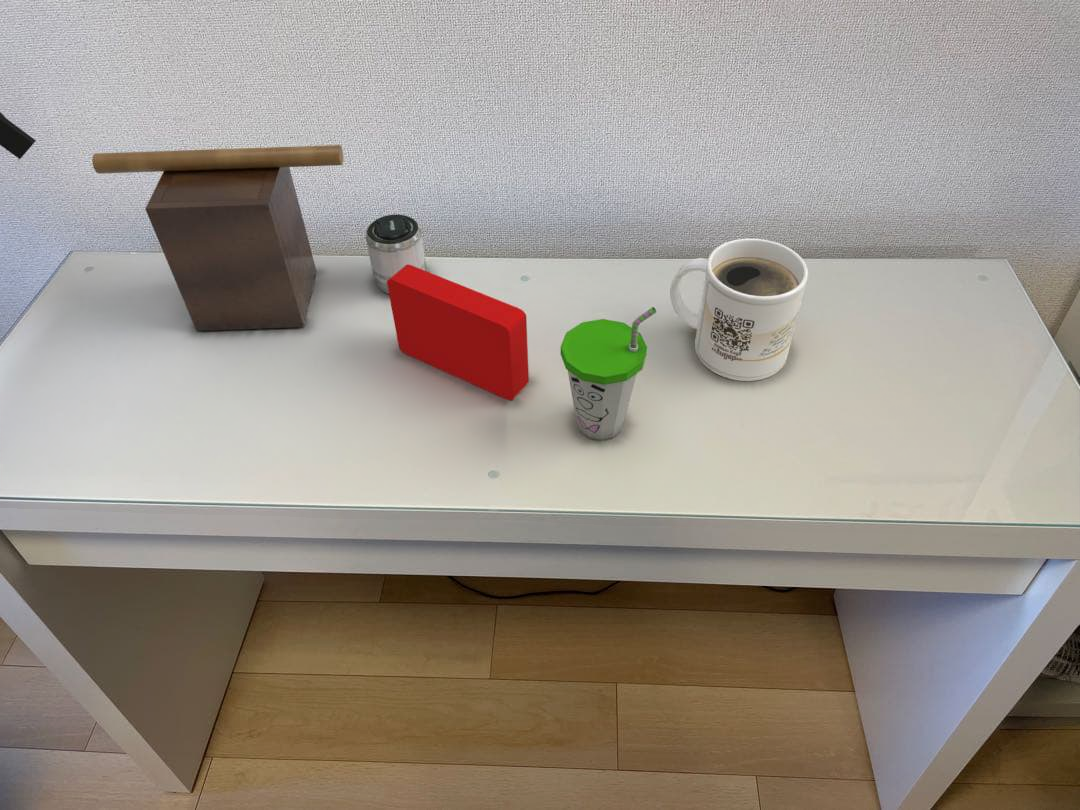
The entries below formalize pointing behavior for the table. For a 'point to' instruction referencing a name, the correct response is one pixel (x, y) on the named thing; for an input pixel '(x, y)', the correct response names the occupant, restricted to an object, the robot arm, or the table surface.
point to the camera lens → (394, 246)
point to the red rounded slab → (460, 331)
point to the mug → (745, 307)
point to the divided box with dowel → (232, 230)
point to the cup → (603, 372)
